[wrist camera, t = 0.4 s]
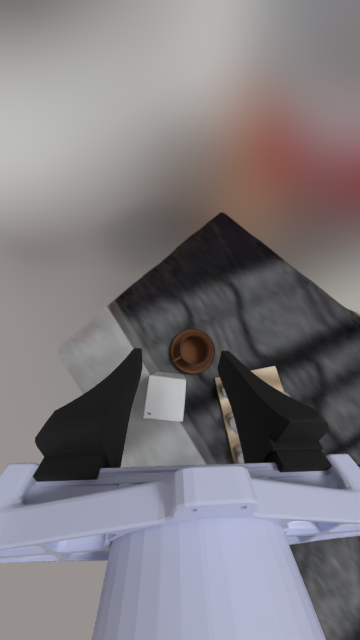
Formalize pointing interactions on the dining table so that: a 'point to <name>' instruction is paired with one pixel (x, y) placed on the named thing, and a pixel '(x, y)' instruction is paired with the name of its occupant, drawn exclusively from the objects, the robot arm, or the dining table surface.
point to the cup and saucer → (192, 351)
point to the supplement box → (165, 396)
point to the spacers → (231, 422)
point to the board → (264, 373)
